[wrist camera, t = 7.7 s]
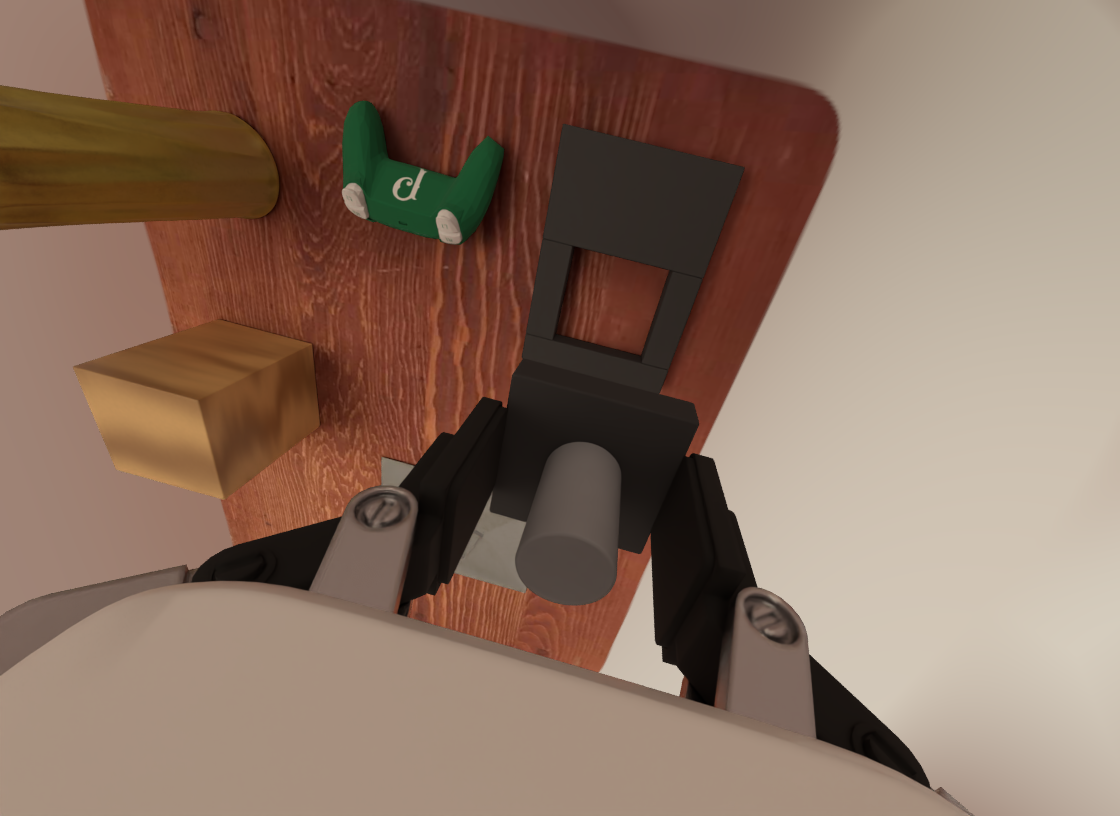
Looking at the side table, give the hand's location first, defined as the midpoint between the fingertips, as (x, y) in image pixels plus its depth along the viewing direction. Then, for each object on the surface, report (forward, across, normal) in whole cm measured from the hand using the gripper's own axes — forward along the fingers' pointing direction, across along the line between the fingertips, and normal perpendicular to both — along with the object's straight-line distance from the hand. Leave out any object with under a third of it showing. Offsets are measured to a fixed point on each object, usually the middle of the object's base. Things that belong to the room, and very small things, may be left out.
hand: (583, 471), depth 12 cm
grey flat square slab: (+19, +13, +27) cm, 35 cm away
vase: (+19, +26, -3) cm, 32 cm away
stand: (+18, +26, +13) cm, 34 cm away
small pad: (+1, 0, 0) cm, 1 cm away
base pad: (+19, 0, -2) cm, 19 cm away
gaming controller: (+19, +13, -5) cm, 23 cm away
